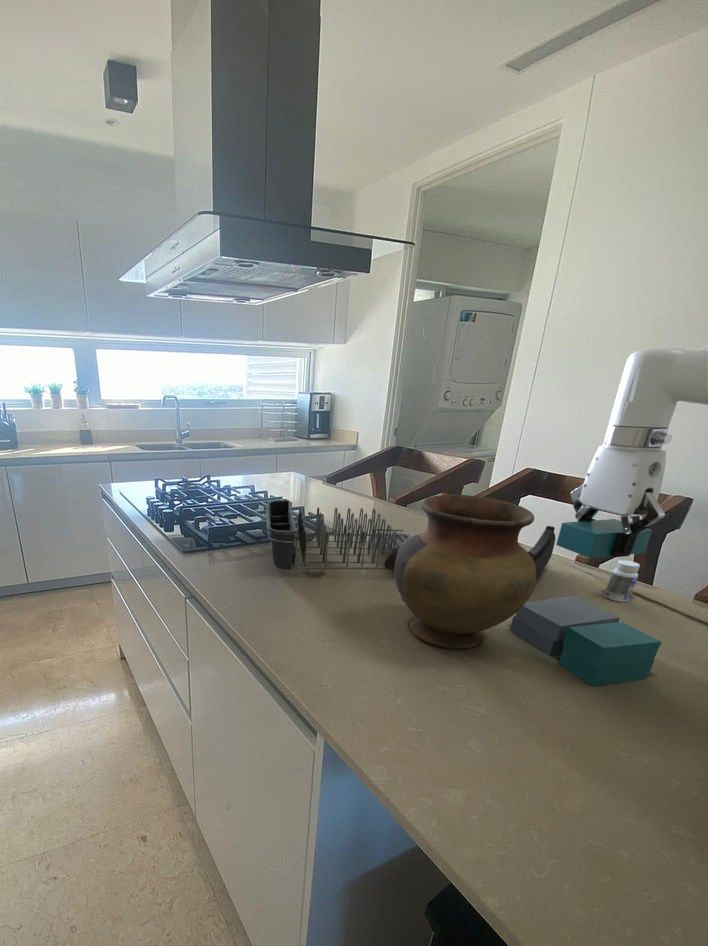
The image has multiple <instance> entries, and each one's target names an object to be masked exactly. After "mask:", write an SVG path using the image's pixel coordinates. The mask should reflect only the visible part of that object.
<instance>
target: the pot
mask: <svg viewBox="0 0 708 946" xmlns="http://www.w3.org/2000/svg"><path fill="white" fill-rule="evenodd" d="M420 508H421V510H422V511H423V512H424V513H425V514H426V516H427V521H428V522H427V527H426V529H424V530H421V531H418V532H416V533H413V534H412V535H411V536H410V537H409V538H408V539H407V540H405V541H404V542H403V543H402V544H401V545H400V546H398V547H396V548H394V549H393V550H392V552H391V553H390V554H389V555H388V557H387V558H386V557H385V560H384V561H383V562H384V563H383V565H384V566H383V567H385V568H386V569H385V570H388V571H389V570H391V571H392V572H393V575H394V580H395V581H394V582H395V585H396V588H397V590H398V592H399V595H400V597H401V601H402V602H404V604H405V606H406V608H407V609H408V610H409V611H410V612H411V613H412V614H413V616H414V618H413V619H412V620H411V622H410V626H409V627H410V630H411V632H412V634H414V636H415V637H416V638H418V639H419V640H421V641H423V642H425V643H427V644H430V645H433V646H436V647H440V648H445V649H455V650H464V649H470V648H473V647H476V646H478V645H479V644H480V643H481V640H482V636H481V633H480V632H482V631H486V630H489V629H491V628H494V627H496V626H498V625H500V624H501V623H504V622H505V621H507V620H509V619H510V618H512V617H513V616H515V615H516V613H517V612H518V611H519V610H520V609H521V608H522V607H523V606H524V604H525V603H526V602H528V601H529V599H530V597H532V594H533V592H534V589H535V586H536V583H537V581H536V568H535V563H534V561H533V559H532V557H531V556H530V555H529V553H528V552H529V551H528V550H526V549H525V548H524V546H522V545H520V543H519V536H520V532H521V531H522V529H523V528H525V527H527V526H530V525H532V524H533V522H534V521H535V515H534V514H533V512H532V511H531V510H529V509H527V508H525V507H523V506H521V505H518V504H515V503H511V502H509V501H505V500H504V501H503V500H500V499H494V498H490V497H484V496H477V495H471V494H469V495H468V494H440V495H433V496H429V497H427V498H424V499H423V500H422V502H421V503H420Z"/></svg>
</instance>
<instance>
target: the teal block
mask: <svg viewBox="0 0 708 946" xmlns="http://www.w3.org/2000/svg"><path fill="white" fill-rule="evenodd" d="M619 532H623V531H622V524H621V519H615V518H611V519H595V520H594V521H579V522H577V521H568V522H567V521H565V522H561V525H560V530H559V533H558V537H557V540H556V546H557V547H560V548H563V549H565V550H568V551H570V552H573V553H575V554H578V555H581V556H584V557H586V558H588V559H595V558H607V557H613V556H612V555H611V553H612V550H613V547H614V543H615V540H616V537H617V534H618V533H619ZM652 533H653V529H651V528H647V529H645V530H643V532H642V533H638V534H637V537H636V540H635V543H634V546H633V549H632V551H631V553H630V555H641V554H645V552H646V550H647V547H648V544H649V541H650V538H651V536H652Z"/></svg>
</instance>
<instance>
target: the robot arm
mask: <svg viewBox="0 0 708 946" xmlns="http://www.w3.org/2000/svg"><path fill="white" fill-rule="evenodd" d="M678 402H684V403H689V404H699V405H706V406H707V405H708V344H706V345H704V346H702V347H700V348H698V349H691V350H690V349H689V350H688V349H685V348H680V347H679V348H678V347H676V348H675V347H666V348H665V347H662V348H661V347H660V348H643V349H639V350H636V351H634V352H632V353H631V354H630V355H629V356H628V358H627V359H626V362H625V365H624V368H623V372H622V376H621V379H620V382H619V386H618V389H617V393H616V397H615V399H614V403H613V407H612V410H611V413H610V417H609V421H608V425H607V427H606V431H605V434H604V438H603V441H602V444H600V445H599V446H598V448H597V450H596V451H595V453H594V456H593V458H592V461H591V463H590V465H589V467H588V470H587V472H586V475H585V479H584V482H583V484H582V485H580V486H578V487H577V488H575V489H573V490H572V491H571V492H570V498H571V501H572V507H573V509H574V512H575V515H574V517H575V519H576V520H577V521H576V522H579V521H594V520H596V519H595V518H594V517H595V516H596V515H597V514H598V513H599V511H602V512H606V513H610V514H613V515H617V516H619V517H620V521H621V524H622V531H623V532H619V533H618V534H617V537H616V540H615V543H614V547H613V550H612V553H611V555H612V556H611V557H613V558H624V557H629V556H631V554H630V553H631V551H632V549H633V546H634V543H635V540H636V537H637V534H638V533H642V532H643V530H645V529H647V528H648V529H650V528H651V527H652V526H653V525H654V524H656V523H657V522H659V521H660V520H662V519H664V517H665V516H666V513H665V511H664V510H663V508H662V506H661V505H660V504H659V502H658V499H659V497H660V492H661V489H662V485H663V480H664V475H665V470H666V463H667V451H666V450H662V449H663V445H664V444H665V445H668V444H669V443H670V442H671V440H672V435H671V434H670V433H668V430H669V427H670V424H671V422H672V419H673V415H674V413H675V410H676V407H677V403H678ZM643 516H644V517H643Z"/></svg>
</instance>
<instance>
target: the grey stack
mask: <svg viewBox="0 0 708 946" xmlns="http://www.w3.org/2000/svg"><path fill="white" fill-rule="evenodd" d="M620 620H621V616H619V615H617V614H615V613H612V612H610V611H608V610H605V609H604V608H601V607H600V606H597V605H595V604H593V603H591V602H589V601H587V600H584V599H582V598H580V597H578V596H576V595H572V596H565V597H558V598H556V597H555V598H550V599H542V600H534V601H527V602H526V603H525V604H524V606H523V607H522V608H521V609H520V610H519V611H518V612H517V613H515V614H514V615H513V616H512V620H511V624H510V627H509V630H510V631H511V632H512V633H514V634H515V635H517V636H518V637H520V638H521V639H523V640H524V641H526V642H528V643H529V644H531V645H532V646H533V647H535V648H536V649H538V650H540V651H541V652H543V653H544V654H546V655H547V656H549V657H551V656H559V655H561V654H562V651H563V648H564V646H563V642H564V639H565V636H566V633H567V629H568V627H575V626H585V625H595V624H606V623H616V622H620Z"/></svg>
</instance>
